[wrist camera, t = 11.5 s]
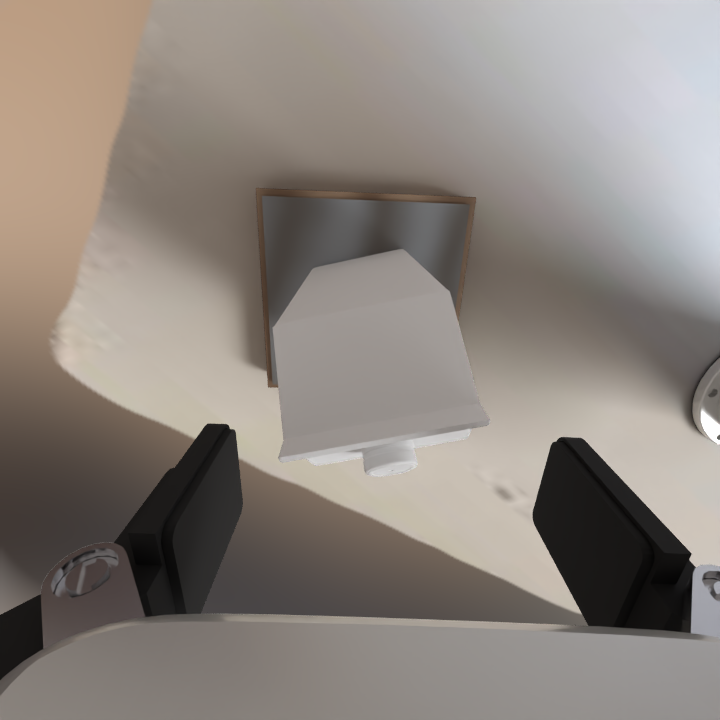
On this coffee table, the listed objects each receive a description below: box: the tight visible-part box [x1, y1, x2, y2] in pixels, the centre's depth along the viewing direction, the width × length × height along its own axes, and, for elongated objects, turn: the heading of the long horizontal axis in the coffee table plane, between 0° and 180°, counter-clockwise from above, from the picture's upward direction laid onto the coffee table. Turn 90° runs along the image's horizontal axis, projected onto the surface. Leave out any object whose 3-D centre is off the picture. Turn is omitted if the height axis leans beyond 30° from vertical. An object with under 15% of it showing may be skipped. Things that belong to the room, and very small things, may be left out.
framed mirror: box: [256, 188, 476, 388], centre depth 31 cm, size 16×16×3 cm
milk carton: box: [273, 249, 490, 477], centre depth 21 cm, size 7×7×19 cm
